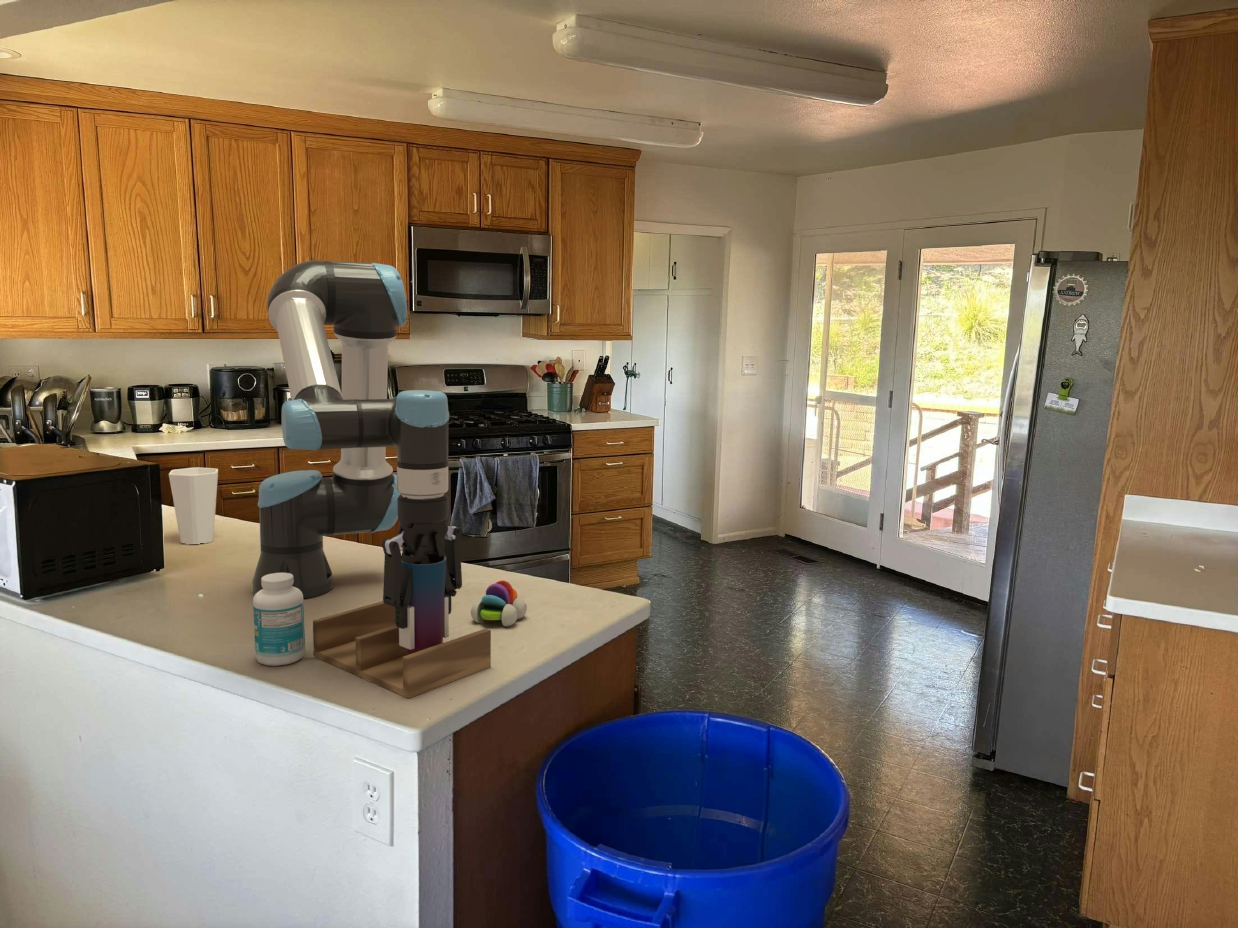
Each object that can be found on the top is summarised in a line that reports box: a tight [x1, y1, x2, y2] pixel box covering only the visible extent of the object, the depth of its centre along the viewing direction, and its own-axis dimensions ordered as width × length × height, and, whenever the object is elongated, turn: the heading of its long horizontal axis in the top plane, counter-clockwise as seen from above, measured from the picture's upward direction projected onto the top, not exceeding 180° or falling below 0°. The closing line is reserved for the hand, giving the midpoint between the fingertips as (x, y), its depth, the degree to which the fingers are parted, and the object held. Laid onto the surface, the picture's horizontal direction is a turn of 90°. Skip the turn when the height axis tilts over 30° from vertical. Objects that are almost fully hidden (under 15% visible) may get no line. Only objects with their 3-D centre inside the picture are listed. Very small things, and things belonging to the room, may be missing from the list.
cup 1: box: [168, 466, 219, 545], centre depth 206 cm, size 11×10×17 cm
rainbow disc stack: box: [470, 580, 528, 628], centre depth 158 cm, size 8×10×7 cm
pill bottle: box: [252, 573, 306, 667], centre depth 137 cm, size 8×7×14 cm
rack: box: [312, 600, 492, 699], centre depth 137 cm, size 24×16×6 cm, turn 52°
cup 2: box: [401, 555, 446, 655], centre depth 133 cm, size 7×7×15 cm
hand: (424, 640), depth 134 cm, fingers closed on cup 2, 6 cm apart
